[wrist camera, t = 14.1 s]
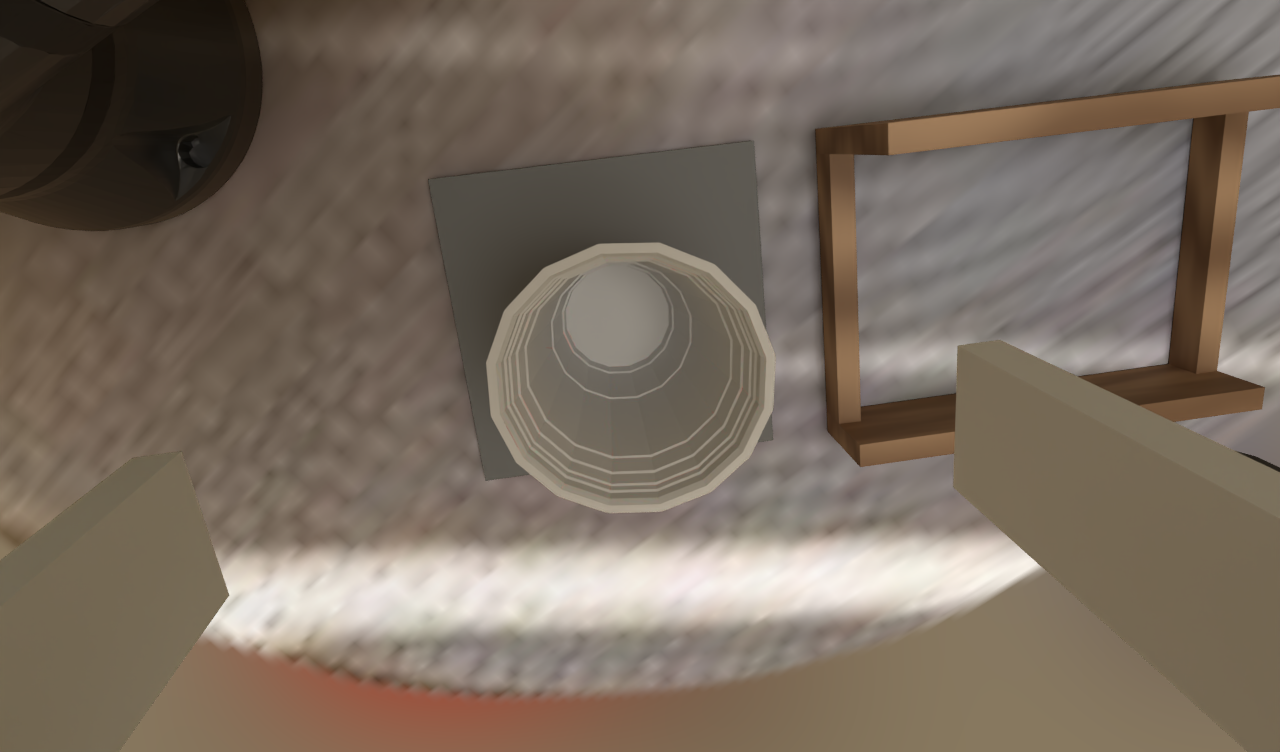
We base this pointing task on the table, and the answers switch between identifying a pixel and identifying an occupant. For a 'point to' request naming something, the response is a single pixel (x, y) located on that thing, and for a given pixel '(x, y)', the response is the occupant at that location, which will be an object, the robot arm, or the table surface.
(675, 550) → the table surface
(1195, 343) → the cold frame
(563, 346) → the plastic cup
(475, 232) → the mat
